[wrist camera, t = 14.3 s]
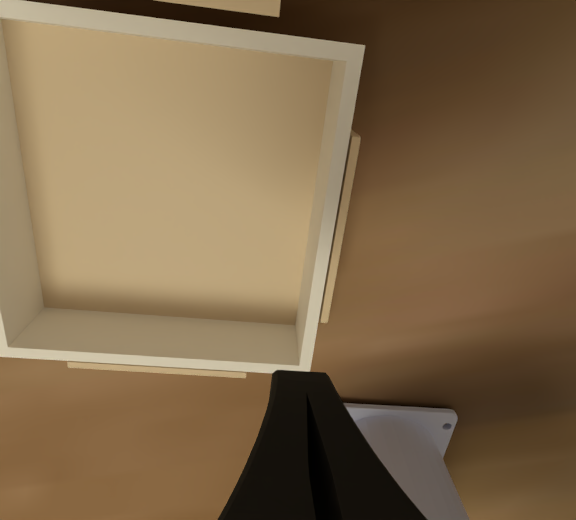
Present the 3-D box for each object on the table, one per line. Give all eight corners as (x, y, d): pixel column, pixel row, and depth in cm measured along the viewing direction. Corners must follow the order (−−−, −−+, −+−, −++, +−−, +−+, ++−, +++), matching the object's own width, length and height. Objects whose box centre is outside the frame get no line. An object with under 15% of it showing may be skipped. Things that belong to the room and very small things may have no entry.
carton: (309, 336, 22) (316, 383, 19) (39, 317, 21) (-2, 364, 18) (356, 49, 16) (377, 46, 13) (-10, 2, 15) (-83, -14, 12)
